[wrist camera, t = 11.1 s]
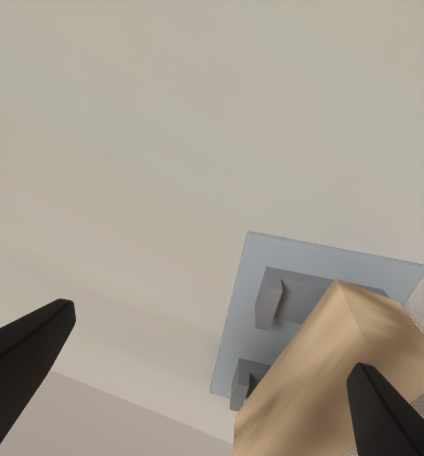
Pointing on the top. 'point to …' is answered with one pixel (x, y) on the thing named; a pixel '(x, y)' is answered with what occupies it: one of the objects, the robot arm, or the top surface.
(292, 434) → the oak rail
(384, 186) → the top surface
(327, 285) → the mount board
